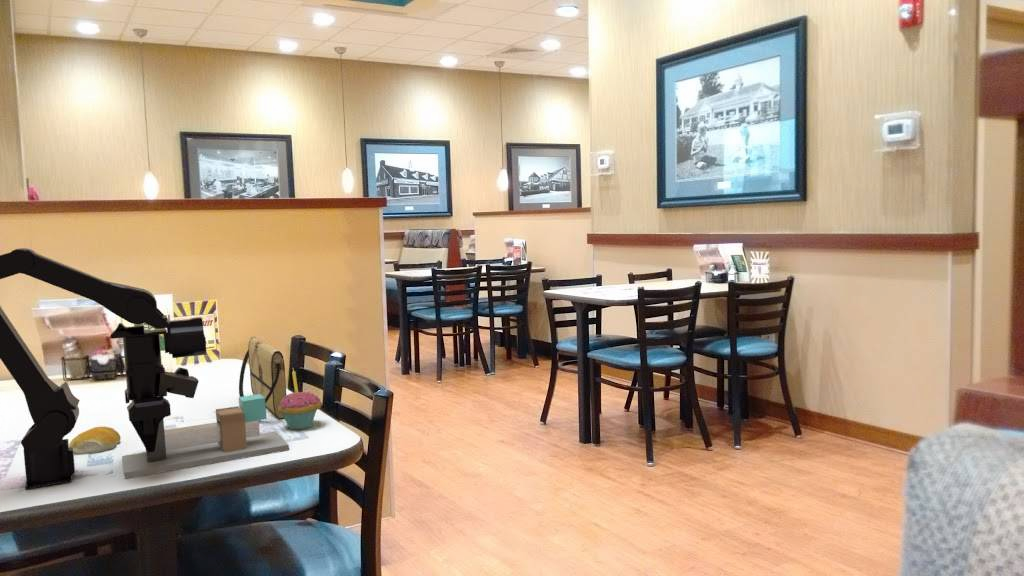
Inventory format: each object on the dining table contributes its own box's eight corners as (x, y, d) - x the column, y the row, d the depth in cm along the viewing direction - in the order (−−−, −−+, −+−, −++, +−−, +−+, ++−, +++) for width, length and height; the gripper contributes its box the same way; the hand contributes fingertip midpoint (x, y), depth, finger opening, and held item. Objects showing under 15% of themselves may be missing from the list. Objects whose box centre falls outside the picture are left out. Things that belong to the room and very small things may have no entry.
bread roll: (124, 440, 150) (123, 420, 150) (111, 453, 141) (109, 432, 141) (79, 444, 148) (77, 424, 148) (63, 457, 139) (61, 436, 139)
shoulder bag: (232, 399, 182) (228, 338, 181) (262, 395, 186) (258, 335, 184) (256, 426, 156) (252, 355, 155) (290, 420, 160) (286, 351, 159)
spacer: (244, 422, 138) (242, 401, 137) (240, 418, 141) (238, 397, 141) (266, 418, 140) (264, 397, 139) (262, 414, 143) (260, 393, 143)
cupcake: (272, 427, 155) (268, 369, 154) (309, 418, 161) (305, 363, 160) (292, 434, 149) (288, 374, 148) (330, 425, 155) (327, 368, 154)
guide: (124, 478, 125) (121, 434, 125) (122, 461, 135) (119, 420, 134) (288, 449, 138) (286, 410, 138) (276, 436, 148) (273, 398, 147)
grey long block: (147, 461, 130) (144, 420, 129) (146, 455, 134) (142, 415, 133) (260, 442, 139) (258, 404, 139) (256, 437, 143) (254, 400, 142)
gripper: (199, 363, 126) (206, 453, 128) (187, 348, 143) (193, 429, 144) (125, 371, 121) (133, 466, 122) (121, 355, 137) (128, 439, 139)
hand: (150, 448), depth 132 cm, fingers closed on grey long block, 4 cm apart
